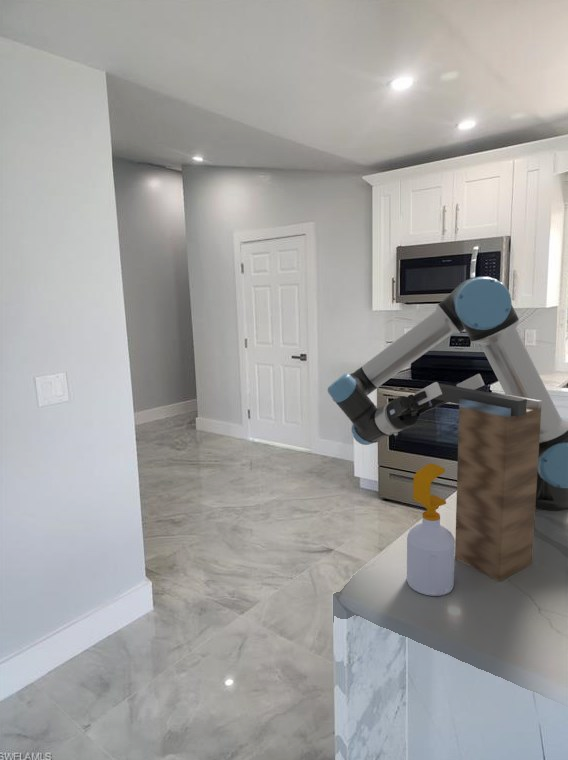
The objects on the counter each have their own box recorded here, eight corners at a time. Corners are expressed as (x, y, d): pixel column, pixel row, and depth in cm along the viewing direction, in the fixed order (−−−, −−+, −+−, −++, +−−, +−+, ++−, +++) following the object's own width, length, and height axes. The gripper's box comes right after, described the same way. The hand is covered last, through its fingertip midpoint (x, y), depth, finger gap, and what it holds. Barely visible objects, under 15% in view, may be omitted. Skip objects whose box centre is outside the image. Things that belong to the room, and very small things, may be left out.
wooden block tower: (453, 556, 110) (457, 399, 104) (485, 542, 116) (491, 391, 109) (499, 581, 101) (507, 409, 94) (532, 563, 106) (541, 400, 100)
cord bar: (430, 398, 112) (431, 384, 112) (438, 396, 113) (439, 383, 113) (517, 416, 95) (518, 401, 94) (526, 414, 96) (526, 399, 95)
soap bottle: (463, 587, 99) (467, 469, 95) (430, 602, 95) (432, 479, 90) (429, 566, 107) (431, 456, 102) (397, 579, 103) (398, 465, 98)
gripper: (438, 420, 129) (504, 391, 112) (364, 439, 116) (426, 409, 99) (427, 393, 131) (490, 361, 114) (353, 409, 118) (412, 374, 101)
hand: (460, 383), depth 106 cm, fingers open, 13 cm apart
